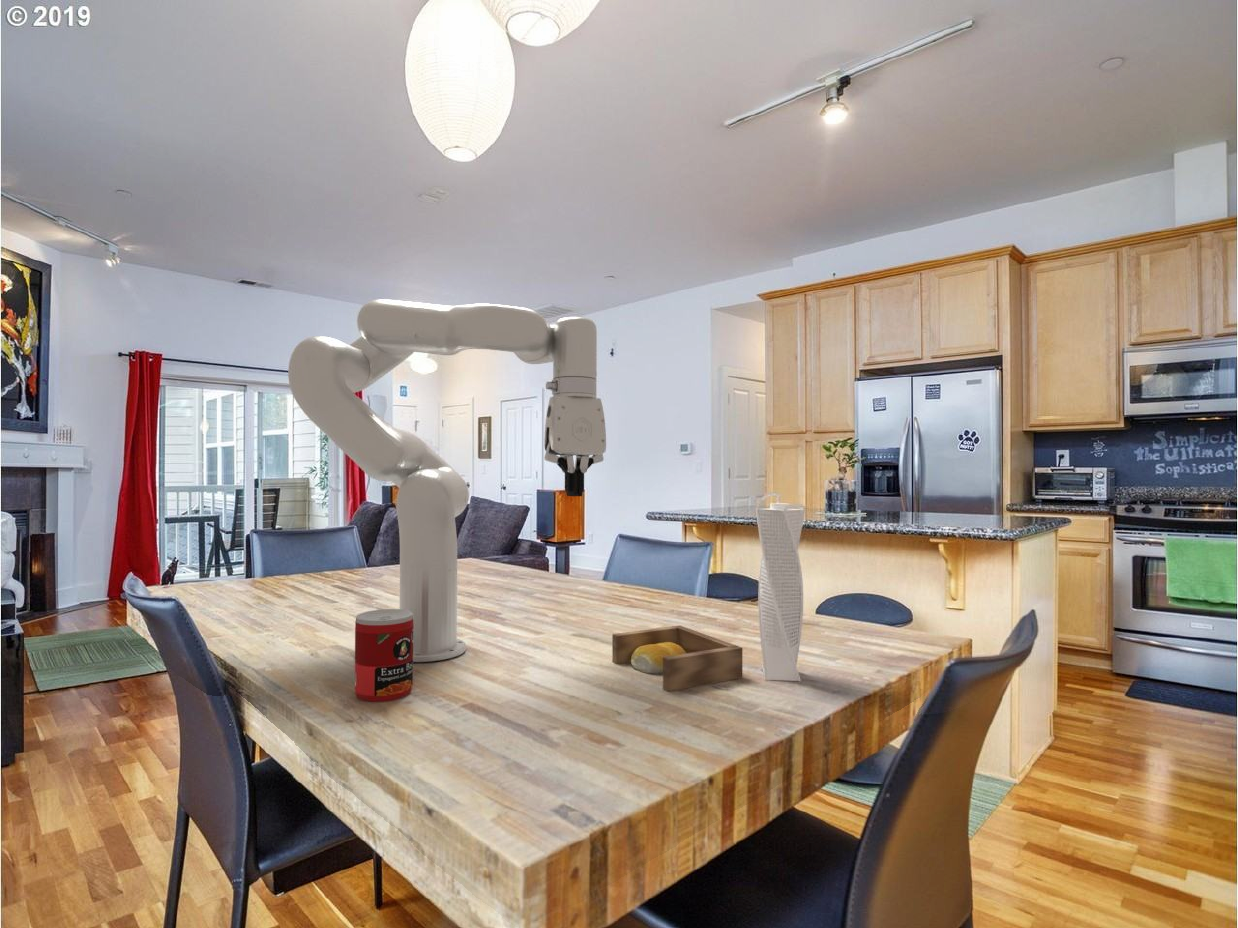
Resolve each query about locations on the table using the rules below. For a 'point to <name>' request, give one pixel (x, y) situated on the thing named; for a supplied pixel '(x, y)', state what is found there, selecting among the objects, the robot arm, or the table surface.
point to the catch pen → (684, 656)
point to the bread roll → (654, 656)
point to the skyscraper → (780, 588)
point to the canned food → (383, 654)
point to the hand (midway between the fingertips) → (574, 495)
